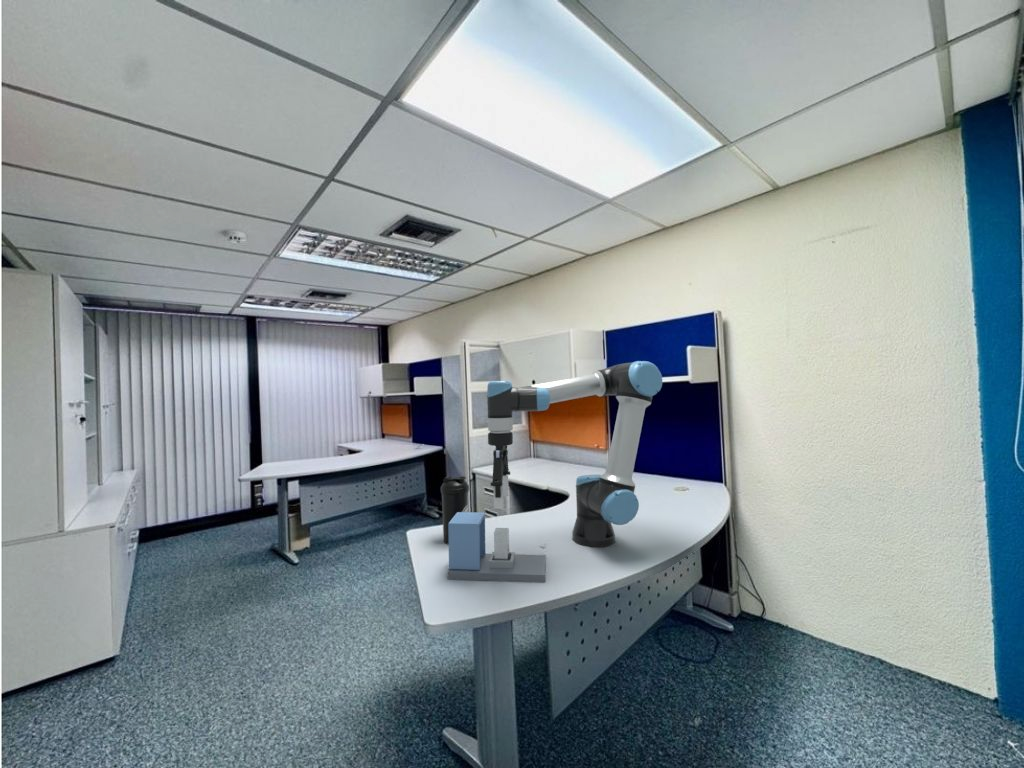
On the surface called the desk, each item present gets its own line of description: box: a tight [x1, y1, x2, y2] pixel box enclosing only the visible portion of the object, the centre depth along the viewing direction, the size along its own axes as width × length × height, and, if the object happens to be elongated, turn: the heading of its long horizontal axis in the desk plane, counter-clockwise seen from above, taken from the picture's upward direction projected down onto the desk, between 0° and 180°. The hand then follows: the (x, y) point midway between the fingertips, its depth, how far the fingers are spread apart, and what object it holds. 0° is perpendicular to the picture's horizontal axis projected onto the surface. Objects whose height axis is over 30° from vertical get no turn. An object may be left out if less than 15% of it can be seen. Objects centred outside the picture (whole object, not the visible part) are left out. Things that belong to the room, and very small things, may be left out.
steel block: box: [493, 527, 510, 561], centre depth 120 cm, size 4×4×10 cm
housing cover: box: [448, 511, 487, 570], centre depth 121 cm, size 9×11×13 cm
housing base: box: [447, 551, 547, 583], centre depth 120 cm, size 28×14×4 cm, turn 84°
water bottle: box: [440, 475, 470, 546], centre depth 145 cm, size 10×10×23 cm
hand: (501, 501), depth 120 cm, fingers open, 13 cm apart
